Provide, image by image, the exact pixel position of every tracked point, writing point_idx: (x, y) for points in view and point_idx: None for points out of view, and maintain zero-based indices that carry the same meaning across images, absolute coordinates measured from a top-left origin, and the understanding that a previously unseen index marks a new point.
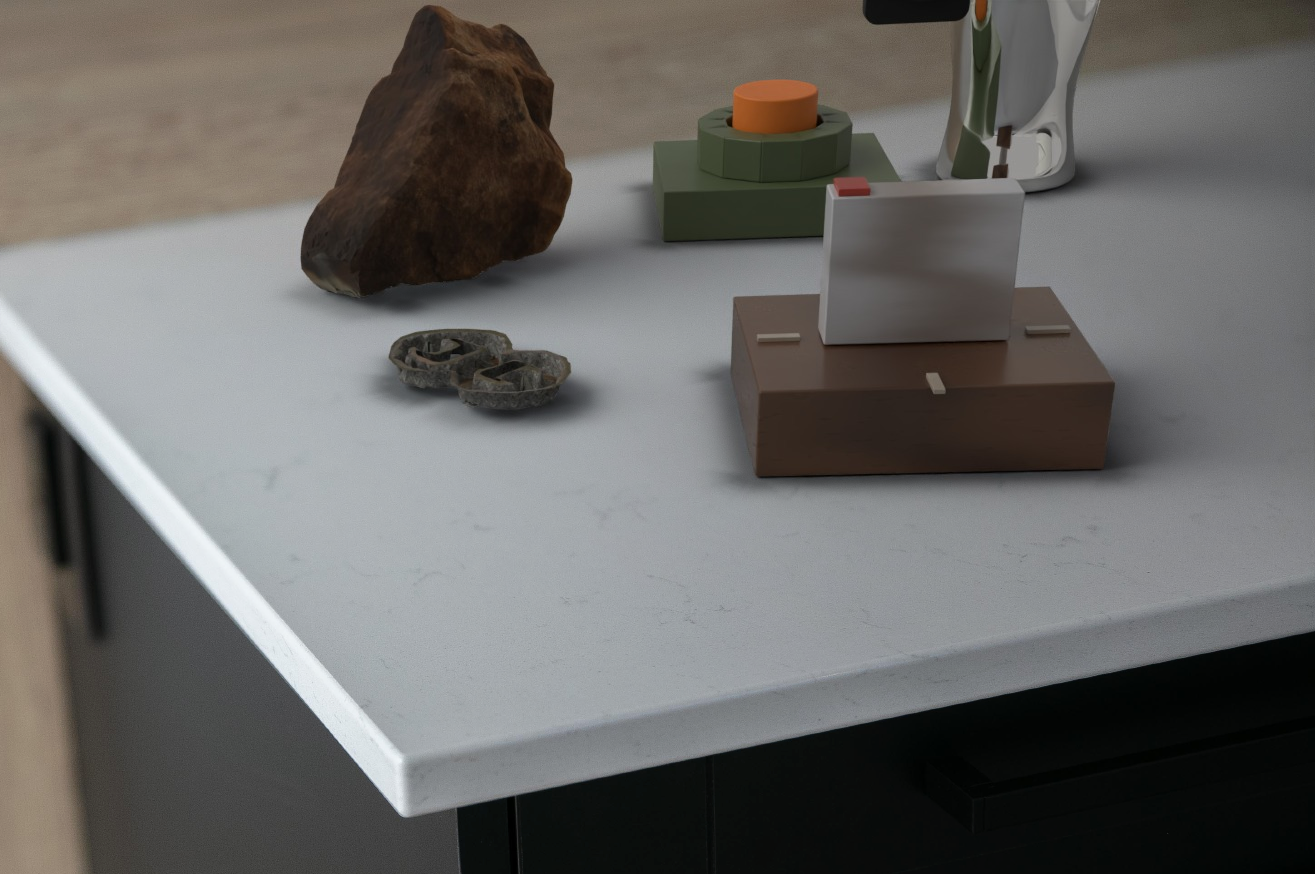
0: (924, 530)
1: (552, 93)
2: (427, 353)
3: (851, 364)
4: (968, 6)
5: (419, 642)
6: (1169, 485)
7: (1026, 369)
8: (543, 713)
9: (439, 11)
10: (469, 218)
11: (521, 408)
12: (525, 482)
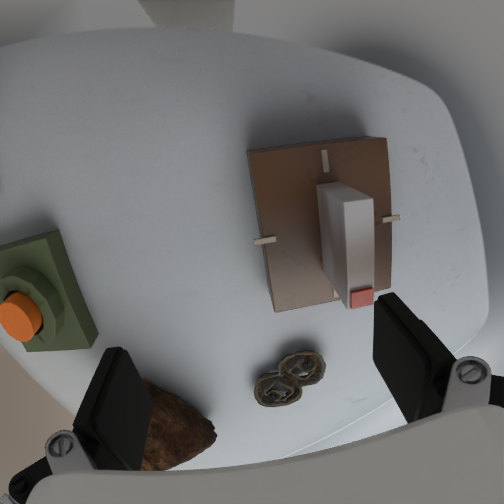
0: (416, 210)
1: None
2: (280, 396)
3: None
4: (395, 294)
5: (453, 336)
6: (379, 113)
7: (373, 176)
8: (483, 301)
9: None
10: (178, 416)
11: (318, 358)
12: (371, 341)
